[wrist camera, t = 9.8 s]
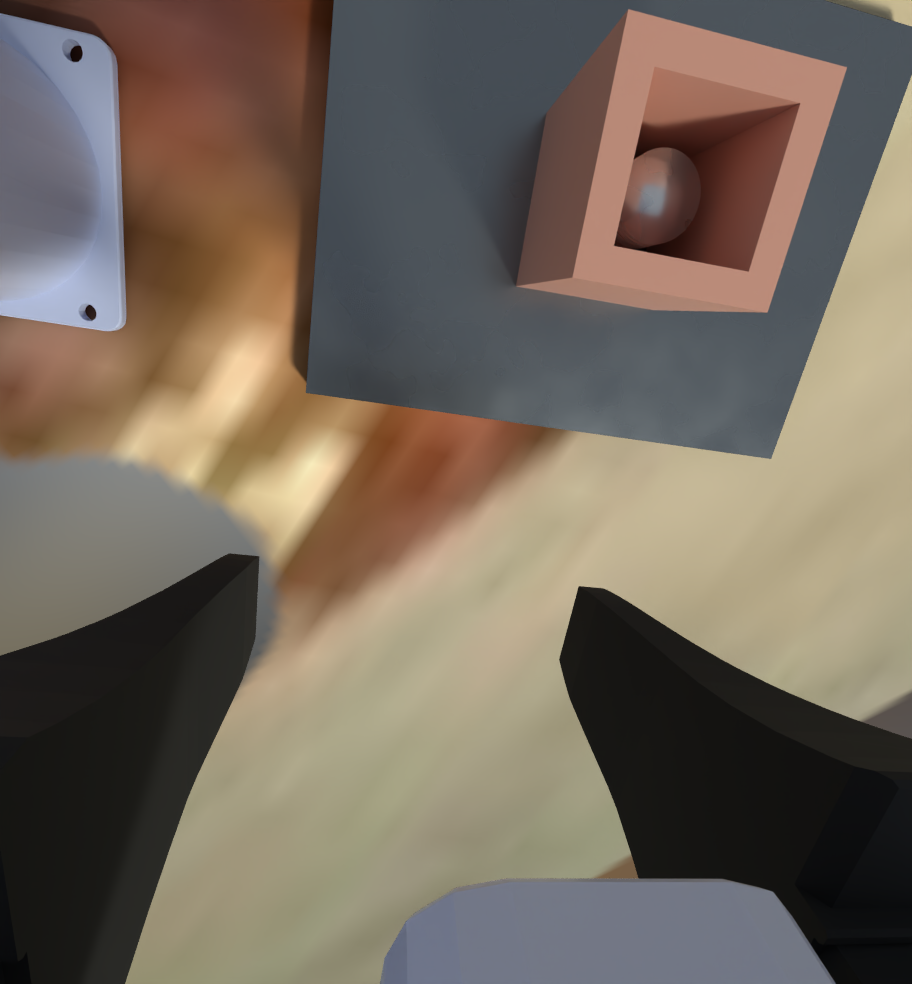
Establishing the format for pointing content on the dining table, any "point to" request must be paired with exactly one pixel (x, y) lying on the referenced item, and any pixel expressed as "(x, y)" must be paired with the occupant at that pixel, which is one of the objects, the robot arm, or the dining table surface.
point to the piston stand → (505, 208)
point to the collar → (703, 139)
